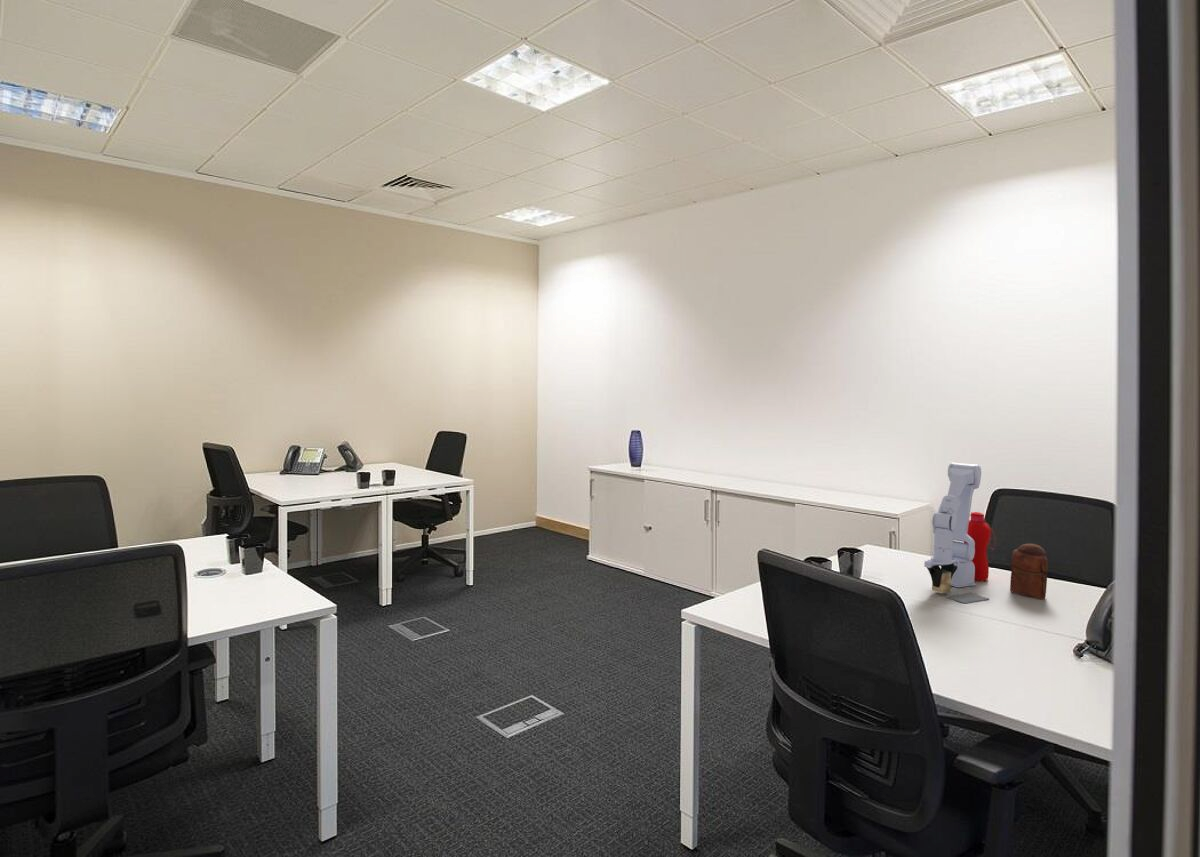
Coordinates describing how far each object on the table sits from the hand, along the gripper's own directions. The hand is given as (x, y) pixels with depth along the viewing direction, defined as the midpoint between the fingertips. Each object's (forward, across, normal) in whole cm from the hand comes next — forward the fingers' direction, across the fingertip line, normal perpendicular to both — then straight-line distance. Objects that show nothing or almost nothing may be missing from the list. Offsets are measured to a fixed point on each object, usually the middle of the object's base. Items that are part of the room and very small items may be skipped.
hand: (941, 585), depth 234 cm
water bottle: (+3, -29, -9) cm, 30 cm away
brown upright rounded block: (+3, -29, +11) cm, 31 cm away
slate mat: (+3, -5, +6) cm, 9 cm away
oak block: (+2, 0, 0) cm, 2 cm away
